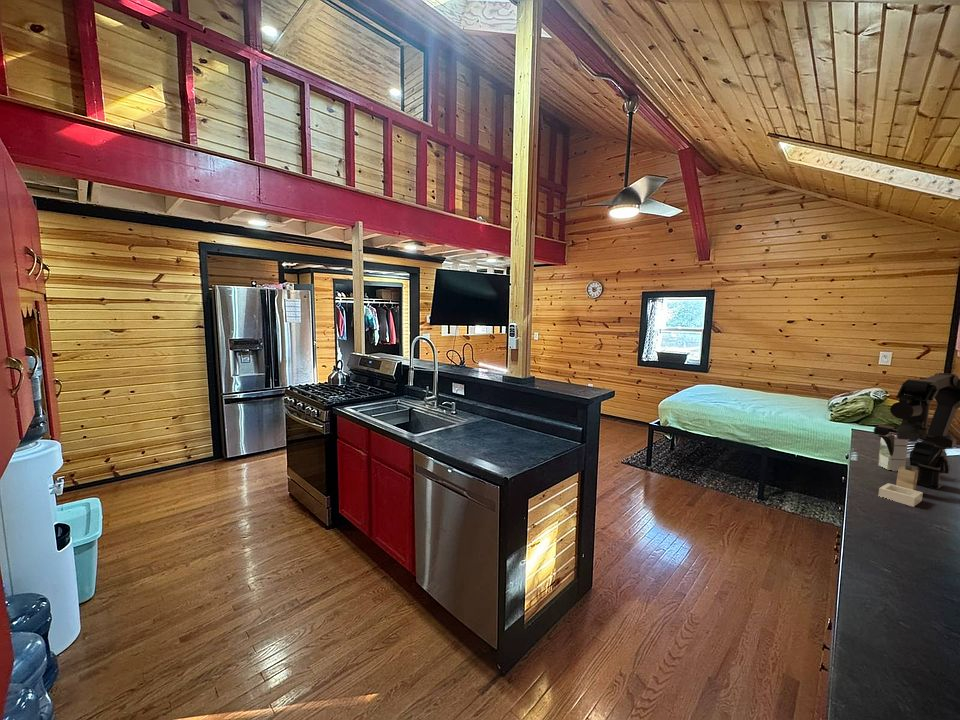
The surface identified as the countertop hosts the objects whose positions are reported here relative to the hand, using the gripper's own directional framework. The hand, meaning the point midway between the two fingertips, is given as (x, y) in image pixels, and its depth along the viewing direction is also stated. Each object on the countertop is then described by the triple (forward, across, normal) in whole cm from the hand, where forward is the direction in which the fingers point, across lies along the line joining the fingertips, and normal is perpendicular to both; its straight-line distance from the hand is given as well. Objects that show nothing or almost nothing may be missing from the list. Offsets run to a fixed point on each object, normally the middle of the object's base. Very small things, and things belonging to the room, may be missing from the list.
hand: (909, 459), depth 138 cm
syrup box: (+12, -10, +25) cm, 29 cm away
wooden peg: (+12, 0, 0) cm, 12 cm away
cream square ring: (+12, +1, -10) cm, 15 cm away
